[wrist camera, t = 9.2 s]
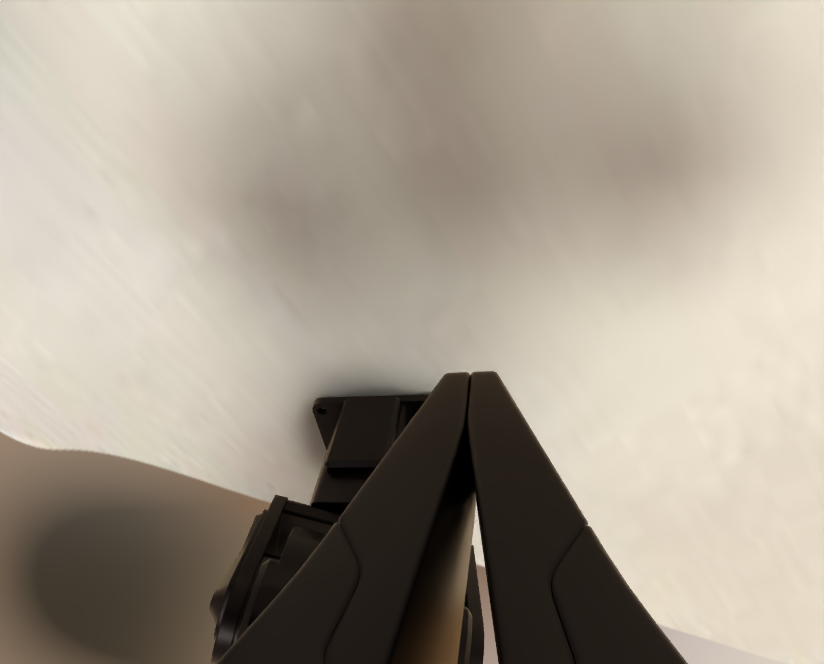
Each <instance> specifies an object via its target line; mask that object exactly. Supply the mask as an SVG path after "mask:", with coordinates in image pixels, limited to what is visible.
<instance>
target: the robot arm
mask: <svg viewBox="0 0 824 664" xmlns="http://www.w3.org/2000/svg"><path fill="white" fill-rule="evenodd" d="M321 407H323V408H325V409H323V408H321ZM312 409H313V413H314V416H315V419H316V422H317V424H318V427H319V430H320V433H321V436H322V438H323V441H324V444H325V447H326V450H327V452H326V455H325V459H324V462H323V465H322V468H321V471H320V474H319V477H318V480H317V483H316V486H315V489H314V492H313V495H312V499H311V502H310V505H305V504H302V503H298V502H294V501H290V500H288V498H287V497H283V496H279V495H275V497H274V499H273V501H272V503H271V505H270V508H269V510H264V511H263V513H262V514H261V515H257V516H256V517H255V519H254V522H253V524H252V527H251V529H250V532H249V534H248V537H247V539H246V541H245V544H244V546H243V548H242V550H241V552H240V553H239V555H238V557H237V558H236V560H235V561H234V563H233V565H232V566H231V568H230V569H229V571H228V572H227V574H226V575H225V577H224V579H223V580H222V582H221V583H220V585H219V586H218V588H217V589H216V591H215V593H214V595H213V598H212V600H211V603H210V611H211V614H212V616H213V618H214V621H215V623H216V628H215V633H214V639H215V644H214V649H213V653H212V660H211V661H212V664H483V655H484V627H483V617H482V609H481V603H480V602H481V601H480V594H479V586H478V579H477V570H476V562H475V554H474V547H473V545H471V543H472V535H473V526H474V518H475V507H476V502H477V510H478V517H479V525H480V532H481V539H482V546H483V554H484V561H485V568H486V575H487V582H488V590H489V597H490V604H491V611H492V619H493V626H494V633H495V641H496V647H497V655H498V662H499V664H688V663H687V662H686V661H685V660H684V658H683V657H682V656H681V654H680V653H679V652H678V651H677V649H676V648H675V647H674V645H673V644H672V643H671V642H670V640H669V639H668V638H667V637H666V635H665V634H664V633H663V631H662V630H661V629H660V628H659V626H658V625H657V624H656V622H655V621H654V620H653V618H652V617H651V616H650V614H649V613H648V612H647V610H646V609H645V607H644V606H643V605H642V603H641V602H640V601H639V599H638V598H637V597H636V595H635V594H634V593H633V591H632V590H631V589H630V587H629V586H628V584H627V583H626V581H625V580H624V578H623V577H622V575H621V574H620V572H619V571H618V569H617V568H616V566H615V565H614V563H613V562H612V560H611V559H610V557H609V555H608V554H607V552H606V551H605V549H604V548H603V546H602V544H601V543H600V541H599V540H598V538H597V536H596V535H595V533H594V531H593V530H592V528H591V527H590V526H588V522H587V520H586V519H585V517H584V515H583V514H582V512H581V510H580V509H579V507H578V505H577V504H576V502H575V501H574V499H573V497H572V496H571V494H570V492H569V491H568V489H567V487H566V486H565V484H564V482H563V481H562V479H561V478H560V476H559V474H558V473H557V471H556V469H555V468H554V466H553V464H552V463H551V461H550V459H549V458H548V456H547V454H546V453H545V451H544V450H543V448H542V446H541V445H540V443H539V441H538V440H537V438H536V436H535V435H534V433H533V431H532V430H531V428H530V427H529V425H528V423H527V422H526V420H525V418H524V417H523V415H522V413H521V412H520V410H519V408H518V407H517V405H516V403H515V402H514V400H513V399H512V397H511V395H510V394H509V392H508V390H507V389H506V387H505V385H504V384H503V382H502V380H501V379H500V377H499V376H498V374H497V373H496V372H494V371H483V372H473V373H472V374H471V376H470V374H469V373H467V372H459V373H447V374H445V375H444V376H443V377H442V379H441V380H440V381H439V383H438V384H437V386H436V387H435V388H434V390H433V391H432V392H431V394H430V395H402V396H370V397H338V398H319V399H317V400H316V401H315V403H314V406H313V408H312Z"/></svg>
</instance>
